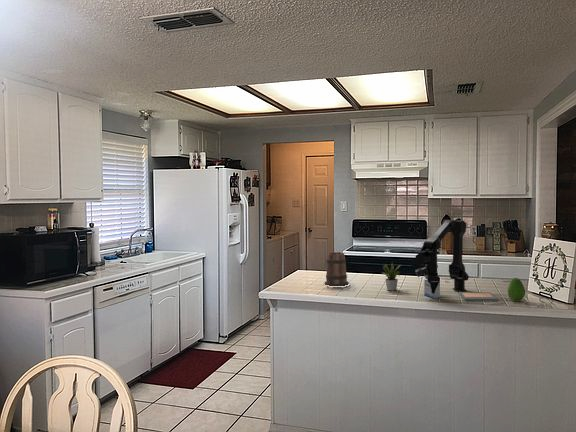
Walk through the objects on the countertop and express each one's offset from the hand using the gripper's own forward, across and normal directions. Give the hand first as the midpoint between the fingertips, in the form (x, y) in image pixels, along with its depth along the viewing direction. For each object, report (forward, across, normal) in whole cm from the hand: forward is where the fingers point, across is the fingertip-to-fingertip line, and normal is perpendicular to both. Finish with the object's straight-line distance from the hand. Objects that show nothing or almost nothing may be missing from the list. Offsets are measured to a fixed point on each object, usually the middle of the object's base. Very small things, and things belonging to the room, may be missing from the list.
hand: (432, 291), depth 263 cm
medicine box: (+3, 0, 0) cm, 3 cm away
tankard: (+3, -33, -53) cm, 62 cm away
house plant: (+3, -16, -22) cm, 27 cm away
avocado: (+3, +10, +40) cm, 41 cm away
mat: (+2, +2, +23) cm, 23 cm away
